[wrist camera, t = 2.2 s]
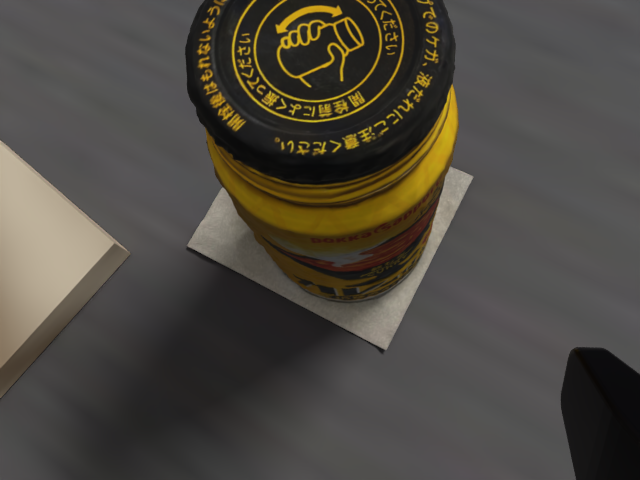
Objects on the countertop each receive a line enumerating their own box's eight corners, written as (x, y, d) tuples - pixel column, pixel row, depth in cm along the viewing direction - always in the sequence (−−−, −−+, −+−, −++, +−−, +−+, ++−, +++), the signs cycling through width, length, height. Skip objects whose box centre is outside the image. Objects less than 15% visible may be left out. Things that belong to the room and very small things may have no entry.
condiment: (386, 351, 21) (395, 278, 10) (188, 247, 23) (-3, 81, 11) (472, 178, 23) (570, -61, 11) (280, 93, 24) (193, -189, 13)
